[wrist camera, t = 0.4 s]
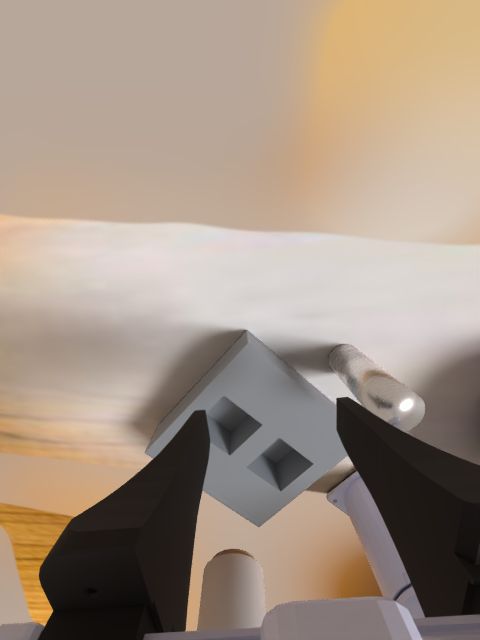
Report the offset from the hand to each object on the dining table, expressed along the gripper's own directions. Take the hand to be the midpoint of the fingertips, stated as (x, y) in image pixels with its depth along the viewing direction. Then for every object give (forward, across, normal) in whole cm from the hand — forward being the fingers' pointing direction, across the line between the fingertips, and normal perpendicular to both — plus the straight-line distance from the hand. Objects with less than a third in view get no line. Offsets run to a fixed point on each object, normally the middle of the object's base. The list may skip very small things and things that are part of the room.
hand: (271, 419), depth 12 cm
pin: (+10, -8, +2) cm, 13 cm away
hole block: (+10, +1, +8) cm, 12 cm away
